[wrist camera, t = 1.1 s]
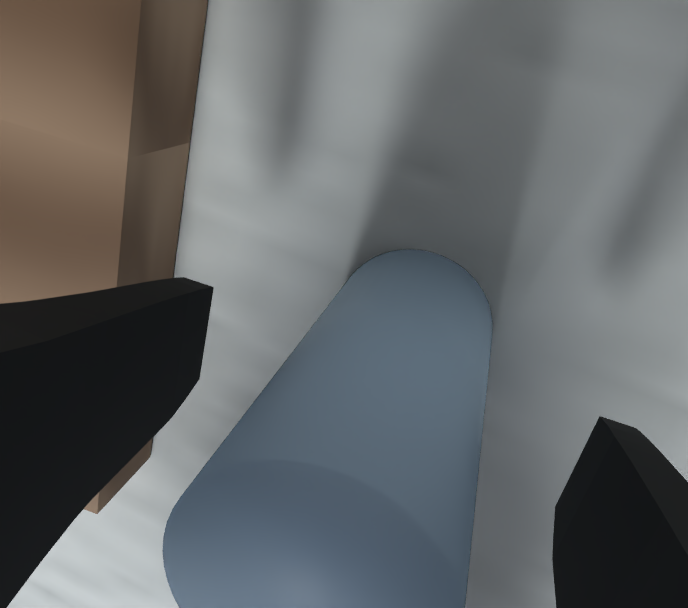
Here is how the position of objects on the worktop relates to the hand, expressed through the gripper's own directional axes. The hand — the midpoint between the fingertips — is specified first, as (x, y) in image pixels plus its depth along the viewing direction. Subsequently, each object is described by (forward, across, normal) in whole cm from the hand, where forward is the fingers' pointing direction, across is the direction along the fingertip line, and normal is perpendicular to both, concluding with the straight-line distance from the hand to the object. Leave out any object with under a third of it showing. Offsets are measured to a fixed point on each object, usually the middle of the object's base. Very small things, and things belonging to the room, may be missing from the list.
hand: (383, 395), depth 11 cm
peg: (+3, 0, 0) cm, 4 cm away
